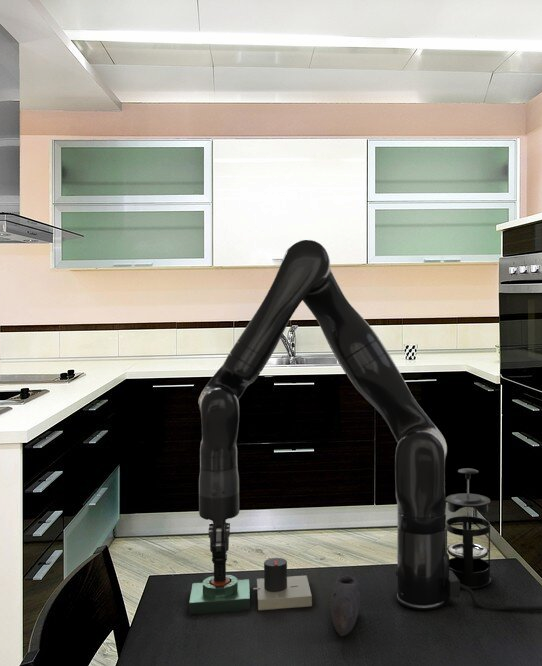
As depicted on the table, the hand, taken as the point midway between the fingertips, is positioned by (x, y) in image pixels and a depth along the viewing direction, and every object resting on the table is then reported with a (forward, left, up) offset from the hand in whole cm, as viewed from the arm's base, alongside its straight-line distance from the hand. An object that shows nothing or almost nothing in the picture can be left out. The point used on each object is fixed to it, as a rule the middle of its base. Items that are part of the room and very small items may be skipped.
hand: (219, 580), depth 129 cm
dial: (-11, 0, -2) cm, 11 cm away
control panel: (-12, 0, -4) cm, 13 cm away
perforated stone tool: (-22, +13, -4) cm, 26 cm away
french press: (-50, -2, -4) cm, 50 cm away
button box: (0, 0, -4) cm, 4 cm away
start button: (0, 0, -2) cm, 2 cm away
